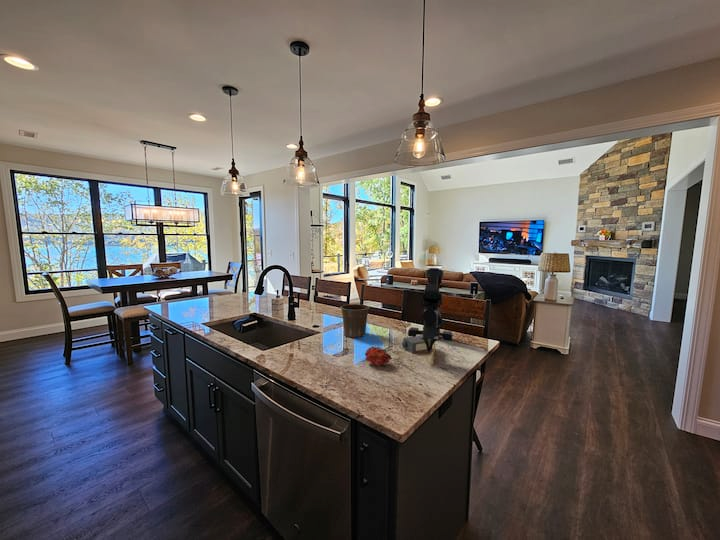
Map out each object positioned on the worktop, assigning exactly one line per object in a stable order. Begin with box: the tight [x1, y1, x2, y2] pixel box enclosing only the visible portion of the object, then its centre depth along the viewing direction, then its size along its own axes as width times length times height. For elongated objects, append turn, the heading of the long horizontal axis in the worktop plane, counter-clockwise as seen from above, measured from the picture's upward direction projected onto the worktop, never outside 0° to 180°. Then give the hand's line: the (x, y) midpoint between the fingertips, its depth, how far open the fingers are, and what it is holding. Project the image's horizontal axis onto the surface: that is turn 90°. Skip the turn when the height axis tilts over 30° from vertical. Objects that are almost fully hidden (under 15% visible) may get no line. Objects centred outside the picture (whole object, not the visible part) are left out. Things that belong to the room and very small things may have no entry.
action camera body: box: [401, 335, 432, 354], centre depth 146 cm, size 13×8×6 cm, turn 114°
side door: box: [430, 341, 436, 365], centre depth 136 cm, size 18×1×5 cm, turn 164°
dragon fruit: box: [364, 345, 393, 368], centre depth 127 cm, size 8×8×12 cm
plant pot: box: [340, 303, 370, 338], centre depth 168 cm, size 16×16×16 cm
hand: (429, 353), depth 131 cm, fingers closed
